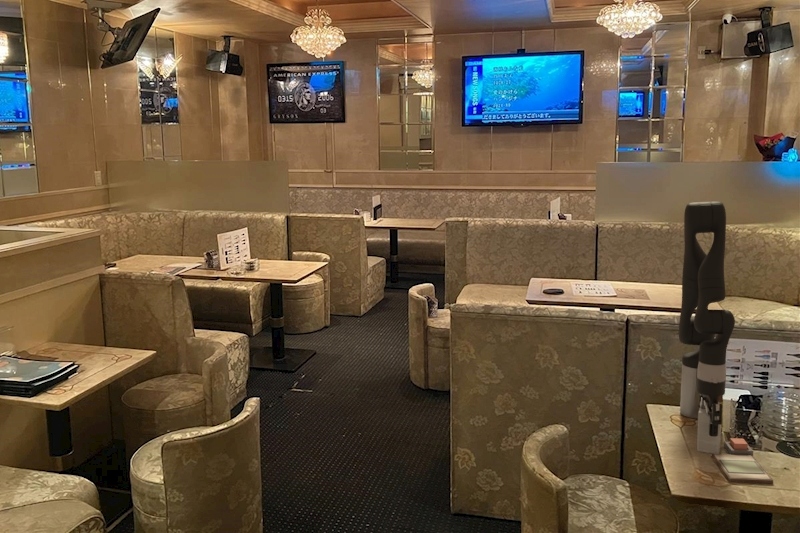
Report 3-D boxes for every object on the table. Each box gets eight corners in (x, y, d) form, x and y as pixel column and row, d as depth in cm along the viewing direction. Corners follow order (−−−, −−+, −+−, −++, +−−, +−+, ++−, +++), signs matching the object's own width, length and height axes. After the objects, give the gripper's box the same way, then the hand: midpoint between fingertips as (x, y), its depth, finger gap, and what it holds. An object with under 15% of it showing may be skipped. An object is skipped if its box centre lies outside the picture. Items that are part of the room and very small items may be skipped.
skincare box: (720, 449, 197) (722, 411, 195) (718, 455, 193) (720, 416, 191) (698, 445, 200) (699, 407, 198) (696, 451, 196) (698, 412, 194)
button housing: (723, 447, 198) (724, 441, 198) (745, 448, 197) (745, 442, 197) (730, 456, 192) (731, 450, 192) (752, 457, 191) (753, 451, 191)
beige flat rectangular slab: (711, 456, 192) (711, 453, 192) (751, 458, 191) (752, 454, 191) (729, 482, 178) (729, 478, 178) (773, 483, 176) (773, 479, 176)
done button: (729, 444, 196) (730, 438, 196) (742, 445, 196) (743, 438, 196) (734, 449, 193) (734, 443, 193) (747, 450, 192) (747, 443, 192)
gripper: (690, 369, 200) (688, 420, 203) (705, 384, 187) (702, 439, 189) (717, 369, 199) (714, 421, 202) (733, 385, 185) (730, 440, 188)
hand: (708, 430), depth 195 cm, fingers open, 8 cm apart
